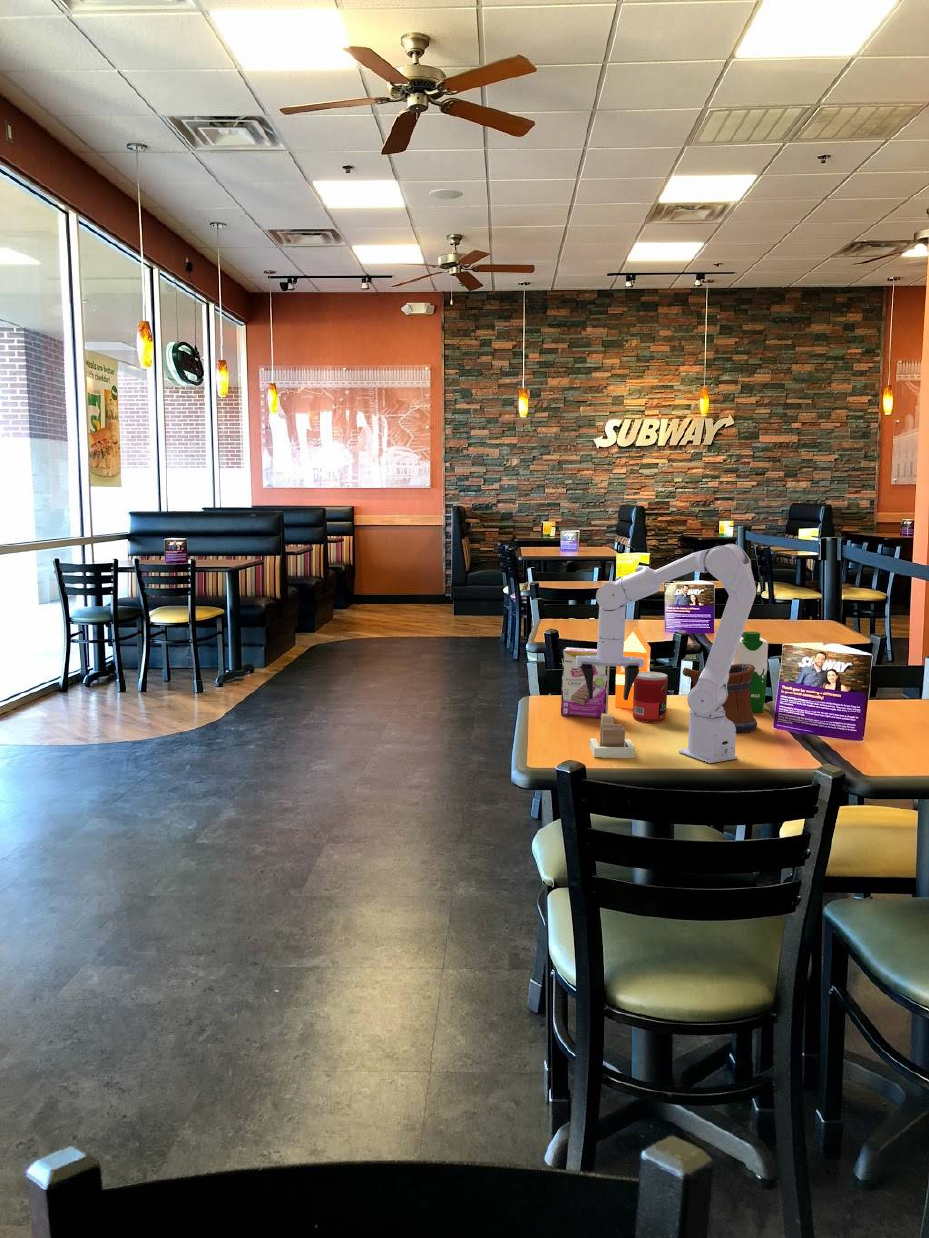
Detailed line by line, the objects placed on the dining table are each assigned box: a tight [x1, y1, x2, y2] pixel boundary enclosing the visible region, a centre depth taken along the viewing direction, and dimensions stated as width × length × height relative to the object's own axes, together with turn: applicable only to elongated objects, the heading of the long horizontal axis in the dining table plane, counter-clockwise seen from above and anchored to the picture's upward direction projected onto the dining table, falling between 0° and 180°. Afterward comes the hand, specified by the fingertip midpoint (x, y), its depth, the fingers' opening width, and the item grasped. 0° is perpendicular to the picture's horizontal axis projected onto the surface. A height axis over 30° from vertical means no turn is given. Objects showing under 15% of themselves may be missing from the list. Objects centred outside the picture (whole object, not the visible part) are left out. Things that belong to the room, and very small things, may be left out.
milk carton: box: [732, 631, 769, 714], centre depth 235 cm, size 9×9×20 cm
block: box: [599, 713, 626, 747], centre depth 200 cm, size 12×4×6 cm, turn 179°
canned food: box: [632, 671, 669, 724], centre depth 225 cm, size 8×8×11 cm
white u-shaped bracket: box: [589, 737, 636, 759], centre depth 196 cm, size 8×8×2 cm
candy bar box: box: [560, 647, 610, 719], centre depth 227 cm, size 11×5×16 cm, turn 76°
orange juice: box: [614, 626, 652, 710], centre depth 239 cm, size 8×9×20 cm
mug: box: [682, 664, 758, 733], centre depth 217 cm, size 18×12×15 cm, turn 96°
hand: (608, 698), depth 204 cm, fingers open, 7 cm apart
